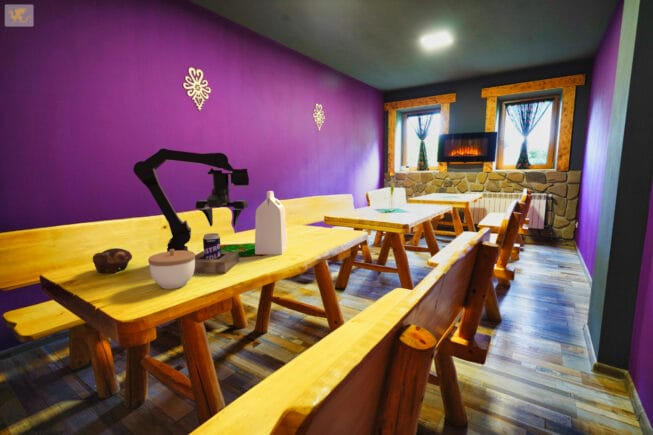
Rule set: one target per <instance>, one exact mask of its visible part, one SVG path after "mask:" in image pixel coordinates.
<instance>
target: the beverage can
mask: <svg viewBox="0 0 653 435" xmlns="http://www.w3.org/2000/svg"><path fill="white" fill-rule="evenodd" d="M202 243H203V244H202V245H203V248H202V249H203V251H204V259H218V260H219V259H220V258H221V250H222V249H221V237H220V235H219V233H215V232H214V233H212V232H211V233H206V234H204V235H203V238H202Z"/></svg>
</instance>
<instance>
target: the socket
mask: <svg viewBox="0 0 653 435" xmlns="http://www.w3.org/2000/svg"><path fill="white" fill-rule="evenodd" d="M239 260H240V258H239V251H224V250H222V251H221V258H220V259H219V260H218V259H204V250H202V251H200V252H199V253H195V270H194V274H205V275H206V274H207V275H209V274H210V275H212V274H213V275H214V274H215V275H217V274H218V275H224V274H225V275H226V274H227V273H228V272H229V271H230V270H231V269H232V268H234V267H235V266H236V265H237V264H238V263H239Z"/></svg>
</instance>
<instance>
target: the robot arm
mask: <svg viewBox="0 0 653 435" xmlns="http://www.w3.org/2000/svg"><path fill="white" fill-rule="evenodd" d="M167 161H172V162H184V163H193V164H199V165H204V166H205V165H206V166H209V167H211V168H210V169H209V171H208V172H206V174H207V175H212V189H211V194H210V195H209V196H208V197H207V198H206V199H201V200H196V201H195V204H194V205H195V206H194V207H195V209H198V211H201V212H202V213H203V214H204V216H205V217H206V220H207V222H208V224H209V226H210V227H213V225H214V224H213V223H214V221H213V216H214V215H213V208H218V209H219V208H222V207H223V208H226V207H227V208H233V209H232V213H233V219H232V220H233V227H234V228H235V227H236V226H237V224H238V221H239V217H240V215H241V213H242V211H244V210H245V209H247V208H248V207H249V204H248V201H247V200H245V199H244V200H243V199H239V200H234V201H233V202H232V201H231V199H230V192H231V189H230V184H232V185H233V187H248V186H250V185H249V184H250V177H249V173H248V168H234V167H233V166H232V165H231V163H229V158H228V156H227V155H226V154H225V153H223V152H210V153H209V152H208V153H199V152H189V151H184V150H183V151H181V150H176V149H167V148H164V147H163V148H160V149H159V150H158V151H156V152H155V153H154V154H153V155H151V156H149V157H148V158H146V159H145V160H141V161H138V162H135V164H134V166H133V168H132V169H133V173H134V174H135V176H136V177H137V178H138V180H140V182H141V183H142V184H143V185H144V186H145V187H146V188H147V189H148V190H149V192H150V194H151V196H152V197H153V199H154V201H155V202H156V204H157V206H158V208H159V209H160V212H161V213H162V214H163V216H164V218H165V220H166V221H167V223H168V226H169V229H170V230H169V231H170V233H171V235H172V236H171V238H170V239H169V240H168V242H167V244H166V246H167V247H166V252H168V251H170V249H174V251H190V250H189V249H188V246H187V245H186V244H188V243H189V242H190V240H191V237H192V236H191V235H192V228H191V227H190V226H189V224H188V220H187V219H186V220H184V221H183V220H182V219H181V218H180V217H179V215H178V214H177V212H176V210H175V208H174V207H173V204H172V203H171V201H170V200H169V198H168V196H167V195H166V193H165V191H164V189H163V187H162V186H161V184H160V180H159V177H158V173H157V171H156V170H157V169H158V168H160V167H161V166H162V165H163V164H164V163H166V162H167ZM213 168H215V169H213ZM223 170H224V171H225V172H223ZM229 182H230V184H229Z"/></svg>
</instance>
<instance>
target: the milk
mask: <svg viewBox="0 0 653 435" xmlns="http://www.w3.org/2000/svg"><path fill="white" fill-rule="evenodd" d="M286 220H287V219H286V209H285V206H284V205H283V204H282V202H281V200H279V199H278V198H276V197H275V194H274V190H268V191H266V199H265V200H264V201H262V203H261V204H260V205H258V207H257V208H256V210H255V221H254V222H255V225H254V230H255V231H254V254H255V255H277V256H279V255H280V256H282V255H283V254H284V253H285V252H286V250H287V248H288V240H287V238H288V237H287V224H286V223H287V222H286ZM285 249H286V250H285ZM283 252H284V253H283Z"/></svg>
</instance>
